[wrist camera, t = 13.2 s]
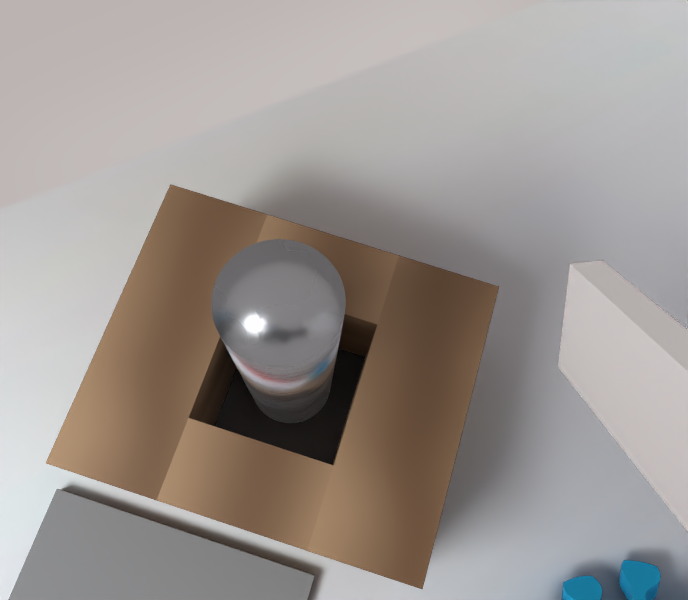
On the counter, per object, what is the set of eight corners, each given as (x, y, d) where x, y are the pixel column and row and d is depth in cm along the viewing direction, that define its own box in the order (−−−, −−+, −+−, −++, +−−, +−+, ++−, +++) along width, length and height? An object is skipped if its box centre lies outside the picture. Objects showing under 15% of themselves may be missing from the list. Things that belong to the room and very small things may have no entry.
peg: (238, 407, 26) (189, 341, 15) (267, 333, 27) (240, 222, 16) (315, 434, 25) (320, 386, 15) (341, 358, 26) (362, 263, 16)
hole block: (96, 471, 25) (45, 463, 20) (194, 240, 28) (170, 184, 23) (399, 572, 24) (422, 589, 19) (465, 325, 27) (499, 286, 22)
